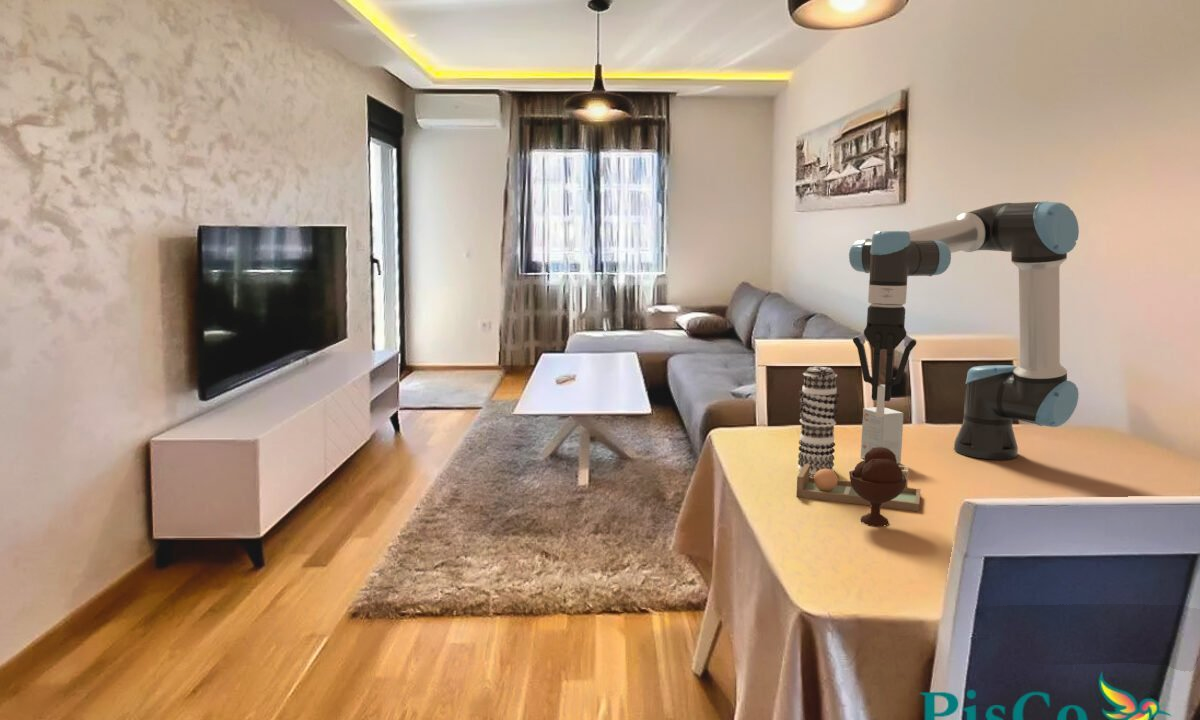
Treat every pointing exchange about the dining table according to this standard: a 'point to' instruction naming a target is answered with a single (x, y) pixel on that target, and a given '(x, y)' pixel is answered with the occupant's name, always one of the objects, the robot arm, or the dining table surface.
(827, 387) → the decorative candle
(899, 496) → the tray
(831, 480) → the ball
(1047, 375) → the robot arm
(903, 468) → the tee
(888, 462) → the ice cream bowl
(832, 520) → the dining table surface
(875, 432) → the small box
